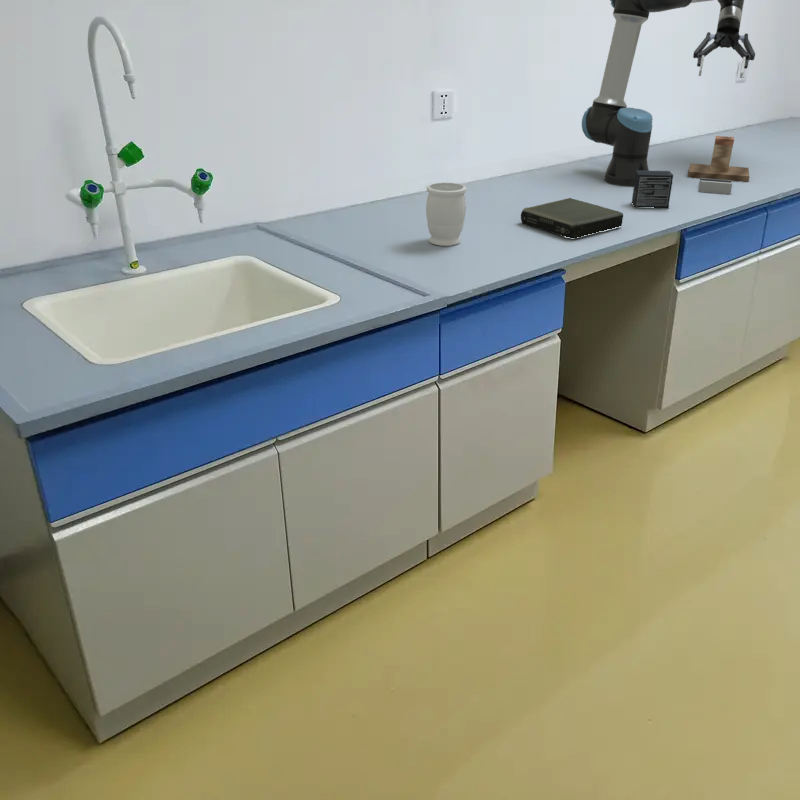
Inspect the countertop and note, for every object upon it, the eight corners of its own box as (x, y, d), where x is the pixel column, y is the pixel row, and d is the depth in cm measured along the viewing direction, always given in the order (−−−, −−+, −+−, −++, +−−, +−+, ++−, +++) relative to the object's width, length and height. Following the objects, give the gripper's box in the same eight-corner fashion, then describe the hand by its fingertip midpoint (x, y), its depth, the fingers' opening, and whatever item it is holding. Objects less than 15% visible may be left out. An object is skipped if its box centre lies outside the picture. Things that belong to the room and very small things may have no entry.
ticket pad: (709, 170, 287) (715, 138, 282) (710, 167, 291) (715, 135, 286) (727, 171, 285) (734, 139, 280) (727, 168, 290) (734, 137, 284)
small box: (664, 203, 256) (670, 170, 251) (668, 209, 250) (674, 175, 245) (630, 202, 257) (635, 169, 252) (634, 208, 251) (638, 174, 246)
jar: (462, 236, 226) (464, 181, 218) (466, 247, 217) (468, 191, 209) (424, 236, 225) (425, 182, 218) (426, 248, 216) (427, 191, 209)
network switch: (627, 227, 235) (629, 210, 232) (581, 245, 220) (583, 226, 218) (561, 211, 249) (562, 195, 247) (513, 227, 235) (514, 209, 232)
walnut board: (687, 177, 286) (688, 171, 285) (689, 168, 298) (690, 163, 297) (748, 182, 281) (749, 176, 280) (747, 173, 292) (748, 167, 291)
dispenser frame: (698, 191, 269) (700, 181, 267) (699, 185, 277) (700, 174, 275) (730, 194, 266) (732, 183, 264) (730, 187, 274) (732, 177, 272)
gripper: (764, 32, 287) (757, 83, 281) (691, 30, 294) (682, 79, 289) (768, 16, 280) (761, 68, 274) (693, 15, 287) (684, 65, 282)
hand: (720, 74), depth 281 cm, fingers open, 13 cm apart
